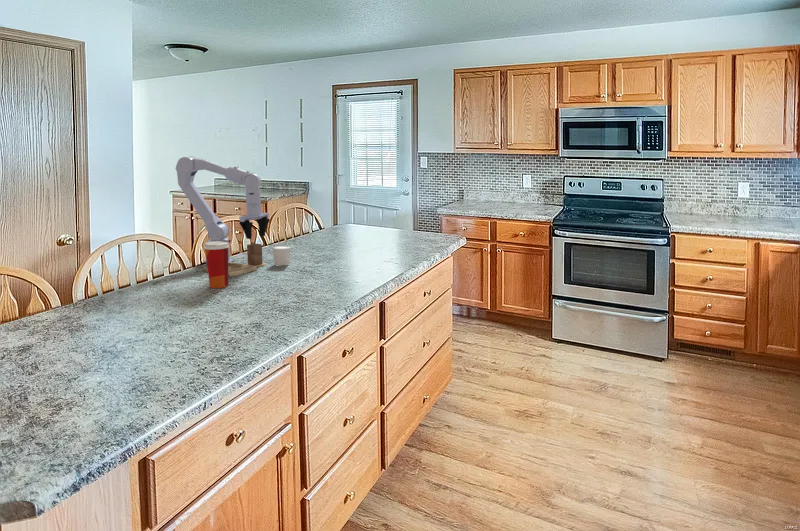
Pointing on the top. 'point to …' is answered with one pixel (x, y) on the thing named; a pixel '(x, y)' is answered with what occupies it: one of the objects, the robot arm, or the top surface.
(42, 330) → the top surface
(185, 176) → the robot arm
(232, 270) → the pocket board
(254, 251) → the walnut post
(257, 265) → the cork pad
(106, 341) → the top surface
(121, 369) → the top surface
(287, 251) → the white tapered cup
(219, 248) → the coffee cup
